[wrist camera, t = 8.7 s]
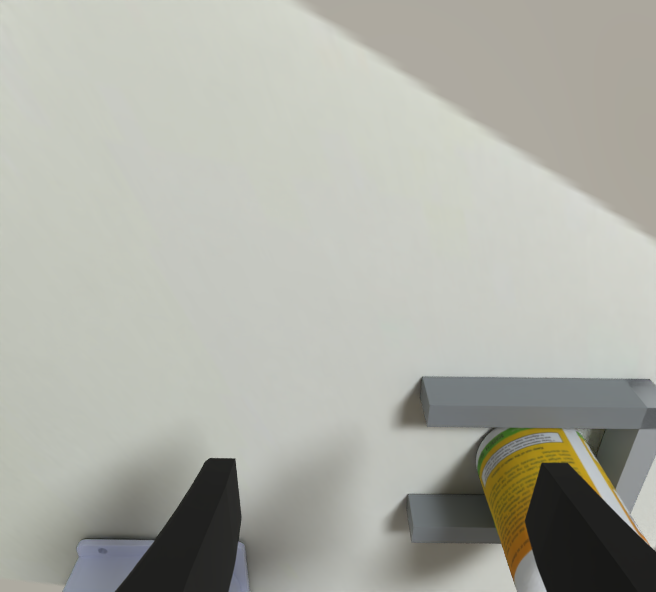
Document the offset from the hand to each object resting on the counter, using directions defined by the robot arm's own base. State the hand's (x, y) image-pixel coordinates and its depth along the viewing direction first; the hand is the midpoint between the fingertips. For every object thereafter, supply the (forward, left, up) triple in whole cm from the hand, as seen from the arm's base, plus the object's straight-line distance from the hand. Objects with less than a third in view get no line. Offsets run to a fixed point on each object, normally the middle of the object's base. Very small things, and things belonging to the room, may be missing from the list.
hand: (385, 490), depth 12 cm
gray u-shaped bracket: (+9, -9, -10) cm, 16 cm away
